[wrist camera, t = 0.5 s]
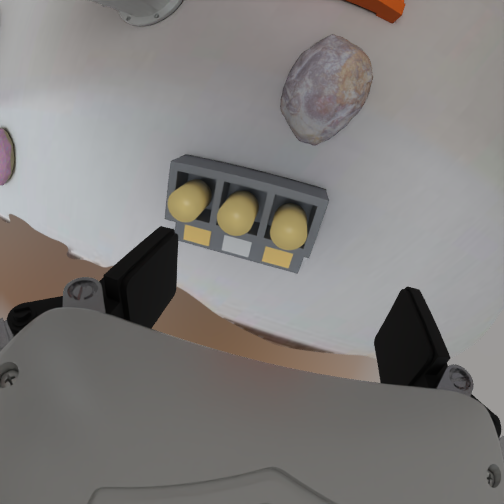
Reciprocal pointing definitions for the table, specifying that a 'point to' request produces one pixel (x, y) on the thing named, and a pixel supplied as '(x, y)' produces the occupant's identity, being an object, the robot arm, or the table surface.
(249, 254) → the strip
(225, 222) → the button mid
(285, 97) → the stone
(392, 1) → the tape dispenser
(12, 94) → the table surface
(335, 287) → the table surface
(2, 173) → the donut
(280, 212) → the button right
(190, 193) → the button left
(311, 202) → the grey compartment tray
